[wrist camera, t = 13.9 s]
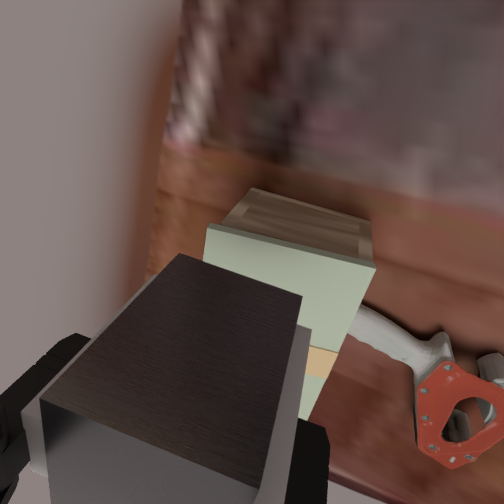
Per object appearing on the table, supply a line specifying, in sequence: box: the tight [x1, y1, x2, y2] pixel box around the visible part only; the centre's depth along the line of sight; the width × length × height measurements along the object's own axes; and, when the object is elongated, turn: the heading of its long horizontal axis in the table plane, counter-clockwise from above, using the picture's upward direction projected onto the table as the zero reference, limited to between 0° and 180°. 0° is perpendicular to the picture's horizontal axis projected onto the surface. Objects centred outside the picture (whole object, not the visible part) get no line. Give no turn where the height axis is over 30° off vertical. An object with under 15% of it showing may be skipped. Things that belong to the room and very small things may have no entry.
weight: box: [39, 253, 303, 504], centre depth 11 cm, size 5×5×7 cm
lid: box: [203, 223, 376, 421], centre depth 28 cm, size 19×11×1 cm, turn 169°
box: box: [221, 187, 373, 262], centre depth 33 cm, size 18×11×8 cm, turn 169°
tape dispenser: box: [347, 304, 504, 469], centre depth 34 cm, size 18×5×20 cm
